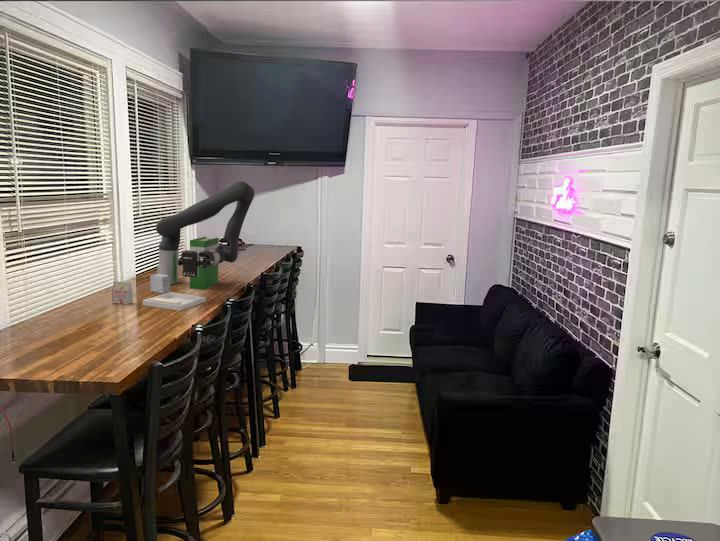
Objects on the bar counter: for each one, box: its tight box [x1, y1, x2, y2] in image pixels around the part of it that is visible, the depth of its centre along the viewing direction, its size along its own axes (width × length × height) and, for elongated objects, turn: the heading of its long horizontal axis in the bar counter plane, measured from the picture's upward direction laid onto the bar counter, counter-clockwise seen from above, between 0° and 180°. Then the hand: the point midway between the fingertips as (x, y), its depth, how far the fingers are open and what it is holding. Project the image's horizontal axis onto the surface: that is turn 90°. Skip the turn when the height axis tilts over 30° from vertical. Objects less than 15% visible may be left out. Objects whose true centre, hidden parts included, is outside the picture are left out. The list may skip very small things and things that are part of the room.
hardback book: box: [189, 236, 220, 291], centre depth 248 cm, size 18×7×24 cm, turn 174°
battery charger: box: [180, 249, 199, 278], centre depth 211 cm, size 7×4×11 cm, turn 82°
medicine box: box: [149, 273, 171, 294], centre depth 228 cm, size 8×4×9 cm, turn 65°
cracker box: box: [151, 298, 182, 305], centre depth 203 cm, size 12×4×2 cm, turn 74°
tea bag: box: [111, 281, 134, 305], centre depth 203 cm, size 4×7×10 cm, turn 87°
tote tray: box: [142, 291, 207, 312], centre depth 209 cm, size 18×18×3 cm
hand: (186, 263), depth 209 cm, fingers closed on battery charger, 7 cm apart
